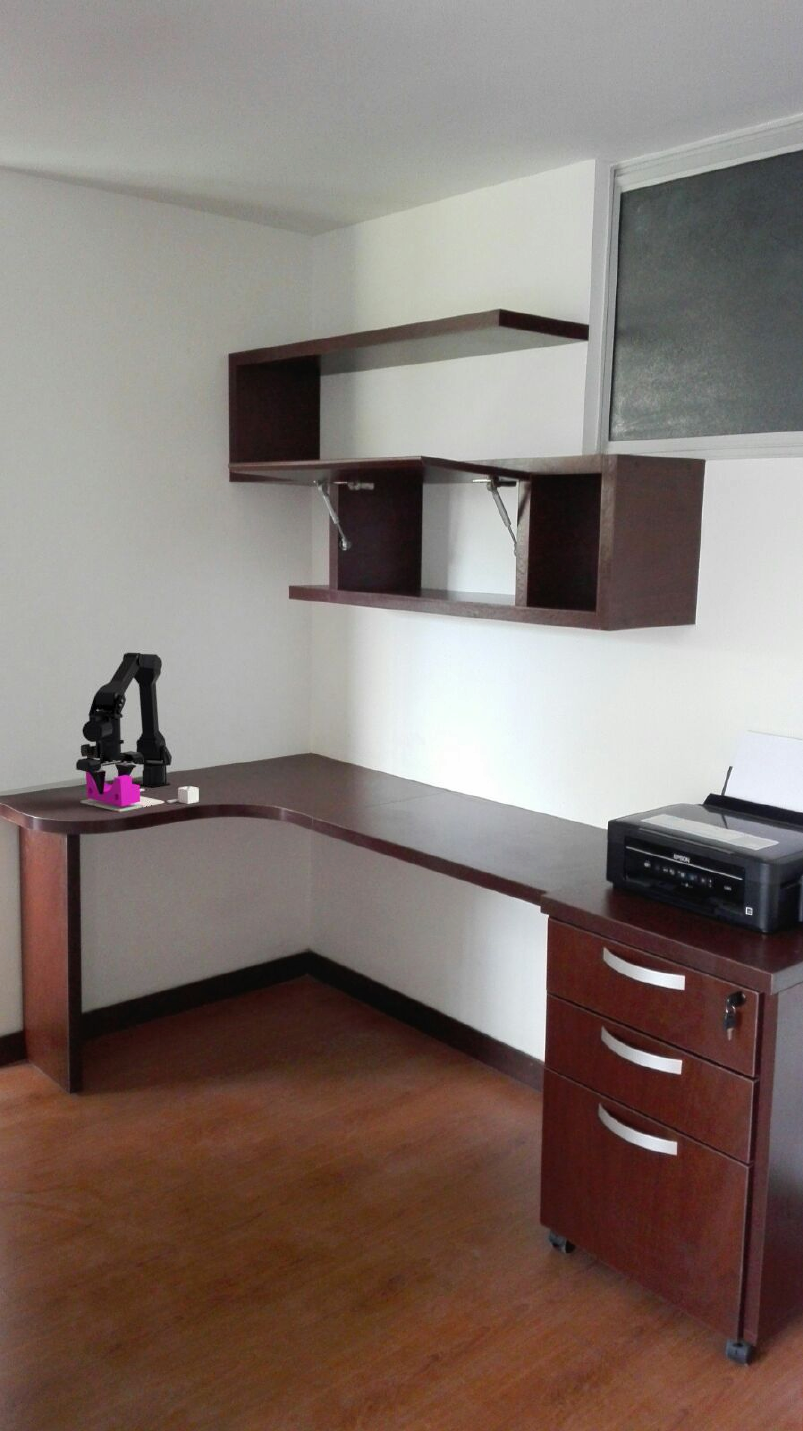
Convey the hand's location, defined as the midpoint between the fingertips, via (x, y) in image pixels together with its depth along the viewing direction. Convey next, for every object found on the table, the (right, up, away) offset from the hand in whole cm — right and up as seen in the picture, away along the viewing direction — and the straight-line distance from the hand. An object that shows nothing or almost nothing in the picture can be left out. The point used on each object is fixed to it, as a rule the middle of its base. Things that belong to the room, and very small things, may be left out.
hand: (111, 792), depth 325 cm
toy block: (+1, -2, 0) cm, 2 cm away
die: (+20, -3, +6) cm, 21 cm away
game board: (+5, -3, +6) cm, 8 cm away
